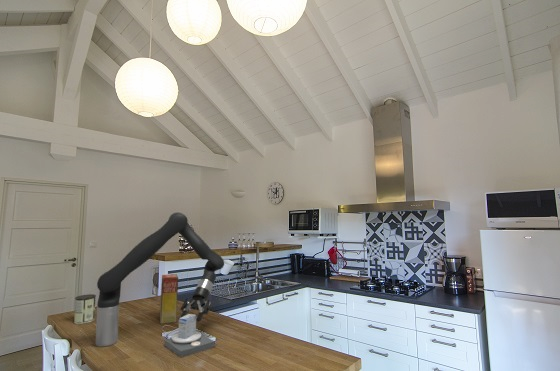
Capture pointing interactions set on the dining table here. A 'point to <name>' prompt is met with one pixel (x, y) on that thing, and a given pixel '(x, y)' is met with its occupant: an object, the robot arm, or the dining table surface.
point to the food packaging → (169, 298)
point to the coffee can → (84, 309)
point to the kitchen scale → (188, 344)
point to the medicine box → (187, 326)
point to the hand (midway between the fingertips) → (189, 320)
